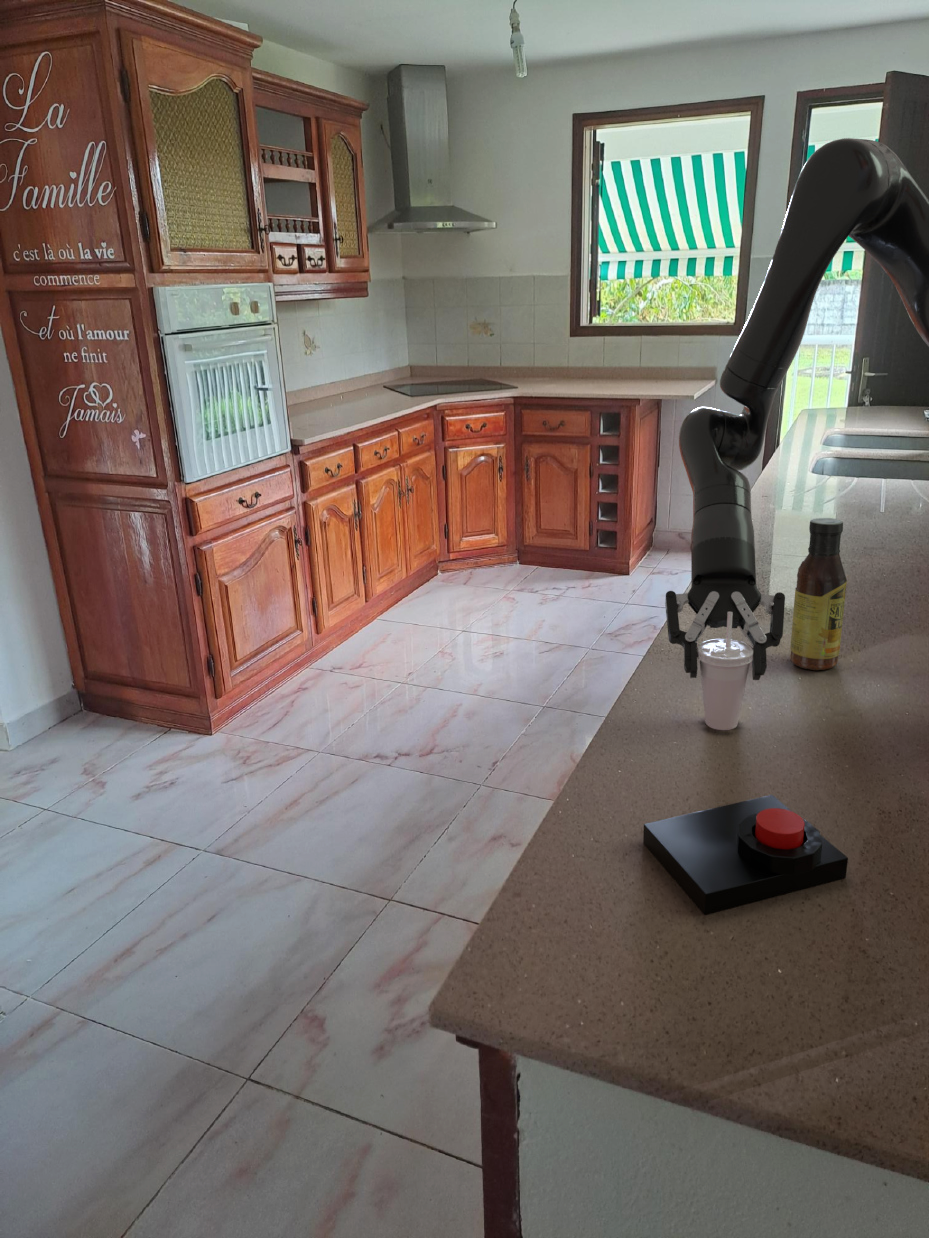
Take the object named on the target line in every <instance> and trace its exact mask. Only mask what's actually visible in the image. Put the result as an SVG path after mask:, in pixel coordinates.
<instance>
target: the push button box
mask: <svg viewBox="0 0 929 1238" xmlns="http://www.w3.org/2000/svg"><path fill="white" fill-rule="evenodd" d="M770 808H779V809H785V810H789V811H792V809H790V808H789V807H787V806H786V804H784V803H783V802H782V801H781V800H779V798H777V797H776V796H775V795H773V794H769V795H764V796H761V797H755V798H752V799H747V800H743V801H739V802H734V803H729V804H725V805H721V806H717V807H712V808H708V809H704V810H699V811H695V812H694V811H693V812H691V813H686V814H682V815H677V816H673V817H669V818H664V819H660V820H656V821H652V822H647V823H644V824H643V835H642V836H643V838H642V839H643V842H642V843H643V845H644V847H646V849H647V850H648V851H649V852H650V853H651V854H652V856H653V857H654V858H655V859H656V860H657V862H659V864H660V865H661V866H662V867H663V869H664V870H665V871H666V872H667V874H669V876H670V877H671V878H672V879H673V880H674V881H675V883H676V884H677V885H678V886H679V887H680V889H682V891H683V892H684V893H685V894H686V895H687V897H688V898H689V899H690V900H691V901H692V903H693V904H694V905H695V906H696V907H697V909H699V911H700V912H701V913H702V914H703V915H704V916H709V915H711V914H716V913H719V912H723V911H727V910H730V909H735V908H739V907H743V906H746V905H750V904H754V903H756V902H761V901H765V900H768V899H772V898H776V897H781V896H784V895H788V894H792V893H796V892H800V891H803V890H807V889H810V888H814V887H818V886H822V885H826V884H830V883H834V882H837V881H841V880H844V879H846V878H847V870H848V864H849V863H848V862H849V857H848V856H846V855H845V854H844V853H843V852H842V851H841V850H840V849H839V848H837V847H836V846H834V844H832V843H831V842H830V841H829V840H828V839H826V838H825V837H824V836H823V835H821V831H820V830H819V829H817V828H816V827H815V826H814V825H813V824H811V823H810V822H809V821H808V820H806V819H804V818H802V819H803V821H804V823H805V827H804V837H803V843H802V845H801V846H800V847H798V848H794V849H790V850H787V849H775V848H772V847H770V846H767V845H765V844H762V843H760V842H759V841H758V840H757V839H756V837H755V828H756V817H757V814H758V813H759V812H761V811H763V810H765V809H770Z"/></svg>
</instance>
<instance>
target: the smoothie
mask: <svg viewBox="0 0 929 1238" xmlns="http://www.w3.org/2000/svg"><path fill="white" fill-rule="evenodd" d="M732 615H733V612H728V615H727V627H726V638H713V639H708V640H705V641H702V642H700V643H699V644H697V660H699V669H700V670H699V671H700V677H701V678H700V680H701V689H702V690H701V691H702V700H703V701H702V702H703V710H704V722H705V724H706V726H707V727H709V728H711V729H713V730H717V731H730V730H733V729H735V728H737V726H738V724H739V719H740V714H741V710H742V709H741V708H742V703H743V699H744V693H745V688H746V684H747V679H748V674H749V669H750V664H751V663H752V660H753V646H752V645H750V644H748V643H746V642H744V641H741V640H737V639H732V634H733V633H732V631H733V628H732Z"/></svg>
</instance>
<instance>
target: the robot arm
mask: <svg viewBox="0 0 929 1238" xmlns="http://www.w3.org/2000/svg"><path fill="white" fill-rule="evenodd" d="M783 221H784V222H783V225H782V228H781V231H780V235H779V238H778V241H777V244H776V247H775V249H774V252H773V256H772V259H771V261H770V264H769V267H768V270H767V272H766V276H765V278H764V280H763V283H762V286H761V288H760V291H759V293H758V296H757V298H756V300H755V303H754V305H753V308H752V309H751V311H750V314H749V316H748V319H747V321H746V322H745V324H744V326H743V329H742V330H741V332H740V334H739V337H738V339H737V341H736V343H735V345H734V348H733V350H732V351H731V354H730V356H729V358H728V360H727V363H726V365H725V367H724V369H723V371H722V373H721V375H720V379H719V387H720V390H721V392H723V394H724V395H725V396H727V397H728V398H730V399H731V400H732V401H735V402H736V403H738V404H740V405H742V406H743V409H742V411H741V413H740V414H737V413H733V412H729V411H725V410H721V409H718V408H717V409H716V408H713V407H709V406H700V407H697V408H695V409H693V410H692V411H690V412H689V413H688V414H687V415H686V416H685V417H684V419H683V421H682V423H681V426H680V429H679V433H678V448H679V453H680V456H681V461H682V464H683V466H684V470H685V472H686V475H687V479H688V483H689V485H690V488H691V491H692V499H693V500H692V506H693V507H692V512H693V513H692V514H693V515H692V517H693V518H692V527H691V534H690V535H691V536H690V539H691V541H690V542H691V543H690V557H691V560H690V561H691V562H690V563H691V567H690V568H691V569H690V570H691V573H690V574H691V575H690V576H691V579H690V580H691V583H690V584H691V585H690V589H689V591H688V592H686V593H676V592H675V591H674V590H668V591H667V592H666V593H665V601H664V605H665V616H666V623H667V624H666V626H667V636H668V642H669V643H670V644H672V645H680V646H681V647H682V649H683V670H684V672H685V674H689V679H697V675H698V658H697V647H698V641H699V640H700V638H701V636H702V635H703V634H704V632H705V631H706V629H707V627H709V628H710V629H718V628H719V629H720V628H723V627H724V628H727V615H728V612H733V615H732V629H738V628H739V630H740V631H741V632H742V634H743V636H744V637H745V638H747V640H748V641H749V643H750V644H751V647H752V648H753V660H752V662H751V671H752V681H760V679H761V676H764V675H765V673H766V671H767V668H768V665H767V664H768V663H767V662H768V660H767V648H770V647H773V648H775V647H778V646H780V643H781V640H782V638H783V635H784V621H785V608H786V607H785V604H786V595H785V594H784V593H783V592H776V593H775V594H774V595H773V594H761V591H760V590H759V588H758V586H757V569H756V567H757V566H756V547H755V546H756V543H755V542H756V539H755V529H754V524H753V518H752V493H751V483H750V481H749V479H748V477H747V476H746V475H745V474H744V473H743V472H741V471H743V470H745V469H747V468H749V467H750V466H752V465H753V464H754V463H755V462H756V461H757V459H758V458H759V456H760V454H761V452H762V450H763V446H764V441H765V436H766V431H767V426H768V421H769V417H770V414H771V410H772V406H773V402H774V400H775V396H776V394H777V392H778V390H779V388H780V386H781V384H782V382H783V380H784V378H785V377H786V375H787V373H788V371H789V369H790V367H791V366H792V364H793V361H794V358H795V357H796V355H797V353H798V351H799V348H800V346H801V344H802V340H803V338H804V335H805V332H806V328H807V325H808V321H809V317H810V315H811V310H812V307H813V302H814V300H815V296H816V294H817V292H818V289H819V286H820V284H821V282H822V279H823V277H824V276H825V274H826V272H827V270H828V268H829V266H830V264H831V262H832V261H833V259H834V258H835V256H836V255H837V253H838V252H839V250H840V249H841V247H842V245H843V244H844V243H845V242H846V240H847V239H848V237H849V238H850V239H851V240H852V241H854V242H855V243H856V244H857V245H859V246H860V247H861V248H862V249H863V250H864V251H865V252H866V253H867V254H868V255H869V256H870V257H871V258H872V259H873V260H875V262H876V263H877V264H878V265H879V266H880V267H881V268H882V269H883V270H884V271H885V273H886V274H887V276H888V277H889V278H890V280H891V281H892V283H893V285H894V287H895V288H896V291H897V292H898V295H899V297H900V299H901V301H902V303H903V306H904V308H905V311H906V312H907V314H908V316H909V319H910V321H911V322H912V325H913V326H914V328H915V330H916V331H917V333H918V334H919V336H920V337H921V339H922V341H924V343H925V344H926V345H927V346H928V348H929V198H928V197H927V196H926V194H925V193H924V191H923V190H922V189H921V188H920V185H918V183H917V182H916V181H915V179H914V178H913V176H912V175H911V173H910V172H909V170H908V168H907V167H906V166H905V164H904V163H903V162H902V160H901V159H900V157H899V156H898V155H897V154H896V153H895V152H894V151H893V150H892V149H891V148H890V147H889V146H887V145H886V144H884V143H882V142H879V141H876V140H873V139H865V138H850V137H845V138H840V139H834V140H832V141H830V142H827V143H825V144H823V145H821V146H820V147H819V148H818V149H816V150H815V151H814V152H813V153H812V154H811V155H810V156H809V157H808V158H807V160H806V162H805V163H804V165H803V166H802V168H801V170H800V173H799V175H798V178H797V180H796V183H795V186H794V188H793V192H792V195H791V197H790V202H789V205H788V208H787V211H786V214H785V218H784V220H783ZM687 604H688V606H689V607H690V608H691V610H692V611H693V612H694V613H695V614H696V616H695V617H694V619H693V621H692V623H691V625H690V626H689V628H688V629H687V631H685V630H682V629H681V628H680V620H679V613H681V612H683V610H684V606H685V605H687ZM760 605H761V606H763V608H764V612H765V613H766V614H767V615H770V622H769V632H767V633H765V632H764V630H763V629H762V628H761V626H760V624H759V621H758V619H757V618H756V616H755V614H754V612H755V611H756V609H757V608H758V607H759V606H760Z"/></svg>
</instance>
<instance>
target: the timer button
mask: <svg viewBox="0 0 929 1238" xmlns="http://www.w3.org/2000/svg"><path fill="white" fill-rule="evenodd" d="M803 819H804V818H803V817H801V816H800V815H799V814H798V813H796V812H794V811H792V810H791V811H789V810H785V809H779V808H770V809H765V810H763V811H761V812H759V813H758V814H757V817H756V828H755V837H756V839H757V840H758V841H759V842H760V843H762V844H765V845H767V846H770V847H772V848H775V849H787V850H790V849H794V848H798V847H800V846H801V845H802V843H803V837H804V827H805V823H804V821H803Z"/></svg>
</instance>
